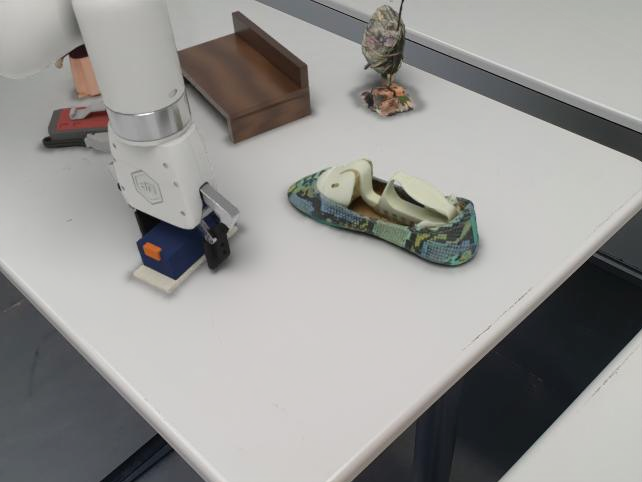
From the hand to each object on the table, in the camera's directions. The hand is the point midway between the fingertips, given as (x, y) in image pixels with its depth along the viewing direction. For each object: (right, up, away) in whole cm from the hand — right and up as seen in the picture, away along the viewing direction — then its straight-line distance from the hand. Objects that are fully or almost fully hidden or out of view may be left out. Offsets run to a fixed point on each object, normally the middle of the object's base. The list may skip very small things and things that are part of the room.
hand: (186, 246), depth 78 cm
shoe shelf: (+3, +24, +23) cm, 33 cm away
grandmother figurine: (-19, +26, +26) cm, 41 cm away
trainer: (0, -1, +1) cm, 2 cm away
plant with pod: (+24, +23, +21) cm, 40 cm away
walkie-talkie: (-13, +17, +18) cm, 28 cm away
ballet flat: (+22, +3, +3) cm, 22 cm away
